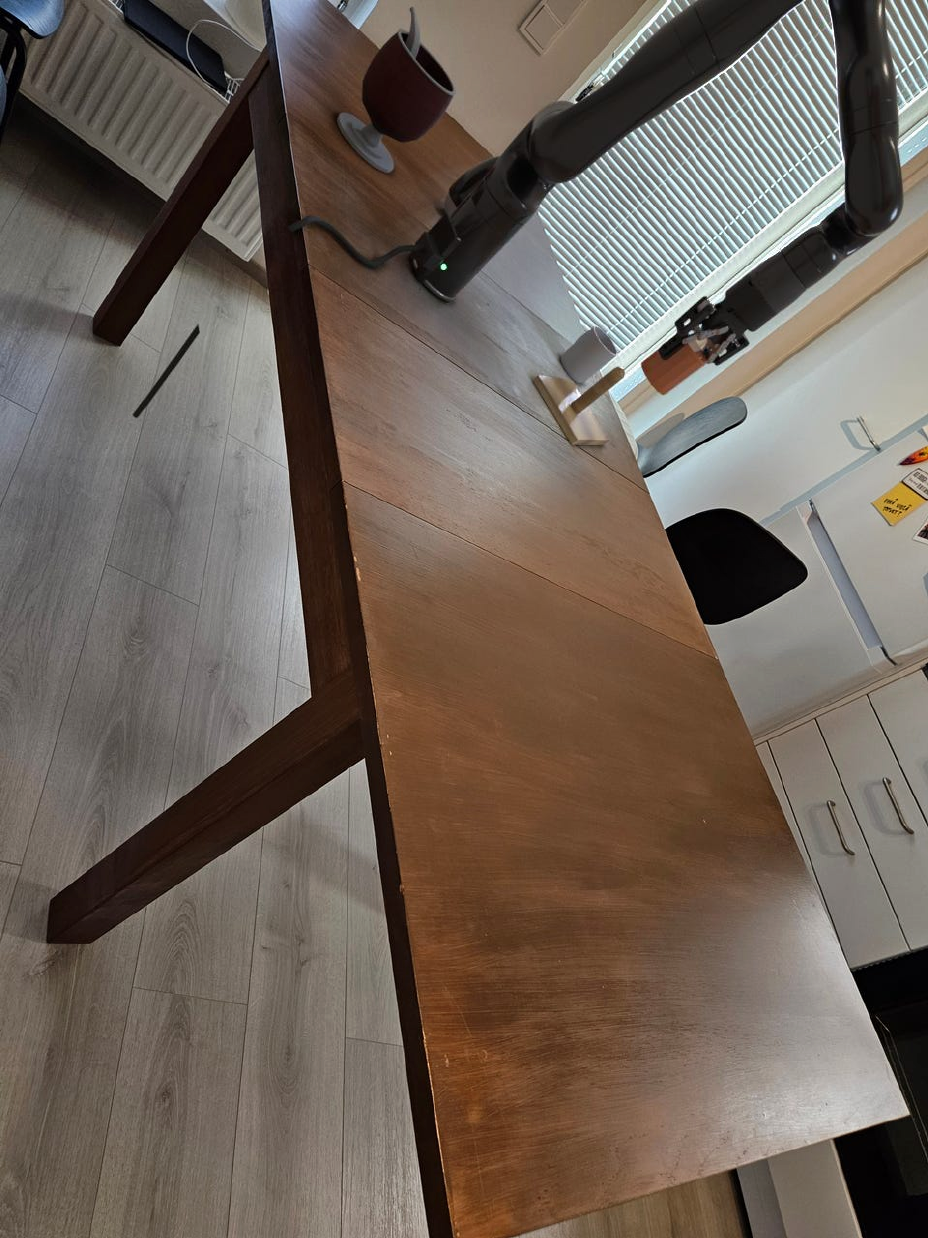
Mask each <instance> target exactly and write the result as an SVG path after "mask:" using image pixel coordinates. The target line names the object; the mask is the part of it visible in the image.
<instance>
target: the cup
mask: <svg viewBox="0 0 928 1238" xmlns="http://www.w3.org/2000/svg"><path fill="white" fill-rule="evenodd" d="M617 356H618V350H617V347H616V345H615V343H614V342H613V340H612V339H611V337H610V336H609V335H608V334H607V333H606V332H605V330H603V328H601V327H600V326H598V325H594V326H592V327H591V328H590V329H589V330H586V331H585V332H583V333H582V334H581V335H580V336H579V337H578V338H577V339H576V340H575V342H574V343H573V344H572V345H570V346H569V348H567V349H566V350H564V352H563V353H562V354H561V356H560V363H561V365H562V367H563V369H564V370H565V372H566V373H567V375H568V376H569V377H570V378H571V380H572V381H575V382H576V383H578V384H584V383H585V382H587V381H588V380H589V379H590V378H592V377H593V376H594V375H595V374H596V373H597V372H599V371H600V370H601V369H602V368H604V366H606V365H607V364H608V363H609V362H611V361H612V360H613V359H614V358H615V357H617Z"/></svg>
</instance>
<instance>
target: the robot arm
mask: <svg viewBox="0 0 928 1238" xmlns="http://www.w3.org/2000/svg"><path fill="white" fill-rule="evenodd" d="M805 1H806V0H695V1H694V2H692V4H690V5H688V6H687V7H685V8H684V9H683V10H682V11H680V12H679V13H677V14H676V15H675V16H673V17H671V19H670V20H668V21H667V22H665V23H664V24H663V25H662V26H661V27H659V28H658V29H657V30H656V31H654V33H653V34H652V35H651V36H649V37H648V39H647V40H646V41H644V43H643V44H642V45H641V46H640V47H639V48H638V49H637V50H636V52H634V53H633V54H632V56H630V58H629V59H628V60H627V61H626V62H625V64H623V66H622V67H621V68H620V69H619V70H618V71H617V72H616V73H615V74H614V75H613V76H611V78H610V79H609V80H607V81H606V82H605V83H603V85H601V86H599V88H597V89H596V90H595V91H593V92H591V93H590V94H588V95H586V96H585V97H583V98H582V99H581V100H578V102H576V103H574V102H572V101H568V100H556V101H553V102H550V103H548V104H547V105H544V106H543V107H542V108H541V109H539V111H538V112H537V113H536V114H535V115H534V116H533V117H532V118H531V119H530V120H529V121H528V123H526V125H525V126H524V127H523V128H522V129H521V131H520V132H519V133H518V134H517V135H516V136H515V138H513V140H512V141H511V142H510V144H509V145H508V146H507V147H506V148H505V149H504V150H503V152H502V153H501V154H500V155H499V156H500V157H499V159H498V160H497V162H496V163H495V165H494V166H493V168H492V169H491V170H490V172H489V173H488V174H487V175H486V176H485V177H484V179H483V180H482V181H481V182H480V183H479V184H478V185H477V186H476V187H475V189H474V190H473V191H472V192H471V193H470V194H469V195H468V196H467V197H466V199H465V200H464V201H463V202H462V203H461V204H460V205H459V206H458V207H457V209H456V210H455V211H454V212H453V213H452V214H450V213H449V212H446V213H445V212H444V214H443V215H442V216H441V217H440V218H439V219H438V220H437V222H436V223H435V224H434V225H433V226H432V227H431V228H430V229H429V231H428V232H427V231H424V232H423V233H422V234H421V235H420V236H419V238H418V239H417V240H416V241H415V242H414V244H405V245H399V246H397V247H395V248H393V249H391V250H390V251H388V252H387V253H385V254H383V255H381V256H379V257H378V258H376V259H375V260H371V259H369V258H367V257H365V256H364V255H363V254H361V253H360V252H359V251H358V250H357V249H356V248H355V247H354V246H353V245H352V244H351V243H350V242H349V240H347V238H346V237H345V236H344V235H343V234H342V233H341V232H340V231H339V230H338V229H337V228H336V227H335V226H333V224H331V223H329V222H328V221H326V220H325V219H322V218H320V217H319V216H316V215H307V216H305V217H303V218H300V219H299V220H297V221H295V222H293V223H291V224H289V225H287V229H288V231H290V232H292V233H293V232H296V231H298V230H299V229H301V228H303V227H305V226H308V225H309V224H312V223H313V224H315V225H317V226H319V227H321V228H323V229H324V230H326V231H327V232H329V233H330V234H331V235H333V236H334V238H335V239H336V240H338V242H339V243H340V244H341V245H342V246H343V247H344V248H345V250H346V251H348V253H349V254H351V255H352V257H354V259H356V260H357V261H359V262H360V263H361V264H363V265H364V266H367V267H368V268H372V269H377V268H378V267H380V266H381V265H382V264H383V263H386V262H387V261H389V260H390V259H392V258H394V257H396V255H399V254H402V253H406V252H409V253H408V257H409V259H410V262H411V265H412V268H413V271H414V274H415V277H416V279H417V281H419V282H420V283H422V284H423V285H424V286H425V287H426V288H427V289H428V290H429V291H430V292H431V293H432V294H433V295H434V296H436V297H437V298H439V299H441V300H442V301H445V302H448V303H449V302H450V303H451V302H452V301H454V300H455V298H456V297H457V295H458V294H459V293H460V292H461V291H462V290H463V289H464V288H465V287H466V286H467V285H468V284H469V283H470V282H471V281H472V280H473V279H474V278H475V277H476V276H477V275H478V274H479V273H480V272H481V271H482V270H483V269H484V267H485V266H486V265H488V263H490V261H492V259H493V258H495V256H496V255H497V254H498V253H499V252H500V251H501V250H502V249H503V248H504V247H505V246H506V245H507V244H508V243H509V242H510V241H511V239H513V238H514V237H515V235H517V234H518V232H520V230H521V229H523V228H524V226H525V225H526V224H528V222H529V221H530V220H531V219H532V218H533V217H534V216H535V215H536V213H537V212H538V210H539V208H540V206H541V205H542V203H543V202H544V200H545V199H546V197H547V196H548V194H550V192H552V190H553V189H554V188H555V187H556V186H557V185H559V184H560V185H561V184H565V183H568V182H571V181H573V180H575V179H576V178H578V177H579V176H581V175H582V174H583V173H585V172H586V171H587V170H588V169H589V168H591V166H593V165H594V164H595V163H596V162H597V161H599V159H601V158H602V157H603V156H604V155H605V154H607V153H608V152H609V151H610V150H611V149H612V148H614V147H615V146H616V145H617V144H619V143H620V142H621V141H623V139H625V138H626V137H627V136H629V135H630V134H631V133H633V132H634V131H636V130H638V129H639V128H641V127H642V126H644V125H646V124H647V123H648V122H650V121H652V120H654V119H655V118H657V117H658V116H660V115H662V114H663V113H665V112H666V111H668V110H670V109H671V108H673V107H674V106H675V105H677V104H678V103H680V102H682V101H683V100H685V99H686V98H687V97H689V96H691V95H692V94H694V93H695V92H697V91H699V90H700V89H702V88H703V87H704V86H706V85H707V84H708V83H710V82H712V81H713V80H715V79H716V78H718V77H719V76H720V75H721V74H723V73H725V72H727V70H728V69H730V68H731V67H733V66H734V65H735V64H736V63H737V62H738V61H740V60H741V59H742V58H743V57H744V56H745V55H746V54H747V53H748V52H750V51H751V50H752V49H753V48H754V47H755V46H756V44H758V43H759V42H760V41H761V40H762V39H763V38H764V37H765V36H767V34H768V33H770V31H771V30H772V29H773V28H774V27H775V26H776V25H777V24H778V23H779V22H780V21H781V20H782V19H783V18H784V17H785V16H787V15H788V14H789V13H790V12H791V11H792V10H794V9H795V8H796V7H797V6H799V5H800V4H802V3H803V2H805ZM826 1H827V6H828V9H829V15H830V20H831V28H832V34H833V42H834V52H835V53H834V54H835V72H836V73H835V74H836V75H835V76H836V99H837V101H836V102H837V118H838V119H837V120H838V131H839V132H838V133H839V141H840V142H839V144H840V152H841V157H842V161H843V177H844V178H843V182H844V185H843V186H844V189H843V190H844V201H842V202H841V203H840V204H839V205H838V206H837V207H835V208H834V209H833V210H832V211H831V212H829V213H828V214H827V215H826V216H825V217H823V219H822V218H821V220H820V221H819V222H817V223H815V224H813V225H811V226H809V227H808V228H806V229H805V230H803V231H802V232H800V233H799V234H798V235H797V236H795V237H793V239H792V240H790V241H789V242H787V244H785V245H784V246H783V247H782V248H780V249H779V250H778V251H776V252H775V253H773V254H772V255H770V256H769V257H767V258H765V259H764V260H763V261H761V262H760V263H759V264H757V265H756V266H755V267H754V268H752V269H751V270H750V271H749V272H747V273H746V274H745V275H744V276H742V277H741V278H740V279H738V280H737V281H736V282H735V283H734V284H732V285H731V286H729V288H727V289H726V290H725V292H724V298H723V299H722V300H721V301H719V302H717V303H713V302H711V300H710V299H709V297H708V296H707V295H704V296H702V297H700V299H699V300H697V301H696V302H695V303H694V304H693V305H691V306H690V308H689V309H687V310H686V311H685V312H684V313H683V314H682V315H681V316H679V317H678V318H677V319H676V320H675V321H674V326H675V329H676V333H675V334H674V335H672V337H669V339H668V340H666V341H665V342H664V343H663V344H661V346H660V347H658V349H659V350H658V349H657V350H658V352H659V354H660V356H661V358H662V359H664V360H667V359H669V358H670V357H671V356H672V355H674V354H675V353H676V352H678V351H679V350H680V349H681V348H683V347H684V344H687V343H689V342H692V341H694V340H695V341H701V342H702V341H704V340H706V342H705V345H703V347H702V348H701V349H702V351H703V353H704V355H705V357H706V359H707V363H706V364H705V365H711V364H714V365H715V367H718V366H720V365H721V364H723V363H725V362H726V361H728V360H729V359H731V358H732V357H733V356H735V355H737V354H739V353H740V352H741V351H743V350H744V349H745V348H747V347H748V346H749V345H750V340H749V339H748V337H747V335H746V333H745V332H746V331H749V332H752V333H753V332H757V331H758V330H759V329H761V328H762V327H763V326H765V324H767V323H768V322H769V321H771V320H772V319H773V318H775V317H776V316H778V314H780V313H781V312H783V311H784V310H785V309H787V308H788V307H789V306H791V305H792V304H793V303H795V302H796V301H797V300H798V299H799V298H800V297H801V296H802V295H803V294H804V293H805V292H807V291H808V290H809V289H811V288H812V287H814V286H815V285H816V284H817V283H818V282H820V281H821V280H822V279H824V278H825V277H827V276H828V275H829V274H831V272H833V271H834V270H836V268H837V267H838V266H839V265H840V264H841V263H842V262H844V260H846V259H847V258H849V257H851V256H852V255H853V254H855V253H856V252H858V251H860V250H861V249H862V248H863V247H865V246H867V245H868V244H869V243H872V241H874V240H875V239H877V238H878V237H879V236H881V235H883V234H884V233H885V232H886V231H887V230H889V229H891V227H892V226H894V224H895V223H896V222H897V221H898V220H899V218H900V216H901V214H902V212H903V209H904V205H905V204H904V203H905V196H904V194H905V193H904V183H903V173H902V166H901V158H900V151H899V141H900V140H899V139H900V123H899V122H900V118H899V101H898V86H897V77H896V71H895V66H894V60H893V54H892V51H891V45H890V39H889V34H888V27H887V25H888V24H887V17H886V15H887V14H886V13H887V11H886V0H826ZM687 321H689V322H688V323H687V324H685V323H686V322H687ZM691 331H693V332H692V333H690V332H691ZM200 333H201V330H200V324H199V323H197V325H196V326H195V327H194V329H193V330H192V331H191V332H190V334H189V335H188V337H187V338H186V340H184V342H183V344H182V346H180V348H179V350H178V351H177V352H176V354H175V355H174V357H173V358H172V359H171V361H170V363H169V364H168V365H167V367H165V369H164V371H163V372H162V374H161V375H160V377H159V378H158V379H157V381H156V382H155V384H154V385H153V386H152V388H151V389H150V390H149V392H148V393H147V395H146V396H145V397H144V398H143V400H142V401H141V403H140V404H139V405H138V407H137V408H136V409H135V411H133V413H132V416H133V418H135V419H138V418H139V417H140V416H141V414H142V413H143V412H144V411H145V409H146V408H147V406H149V404H150V403H151V401H152V400H153V399H154V398H155V396H156V395H157V393H158V392H159V391H160V390H161V388H162V387H163V385H164V383H165V382H166V381H167V379H168V378H169V377H170V375H171V374H172V372H173V371H174V370H175V368H176V367H177V365H179V363H180V361H181V360H182V358H183V357H184V356H185V354H186V353H187V351H188V350H189V349H190V348H191V346H192V345H193V344H194V341H195V340H196V339H197V338H198V336H199V335H200ZM688 333H689V334H690V335H688Z"/></svg>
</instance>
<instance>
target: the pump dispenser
mask: <svg viewBox="0 0 928 1238" xmlns="http://www.w3.org/2000/svg"><path fill="white" fill-rule="evenodd" d="M500 156H501V155H497V156H492V157H490V158H488V159H486V160H483V161H481V162H479V163H478V164H476V165H474V166H473V167H471V168H470V169H468V170H467V171H465V172H464V173H463V174H462V175H461V176H460V177H458V178H457V179H456V180H455V181H453V182H452V184H451V185H450V186H449V188H448V192H447V194H446V196H445V199H444V205H443V207H444V214H445V213H446V212H449V213H450V214H452V213H453V212H454V211H455V210H456V209H457V207H458V206H459V205H460V204H461V203H462V202H463V201H464V200H465V199H466V197H467V196H468V195H469V194H470V193H471V192H472V191H473V190H474V189H475V187H476V186H477V185H478V184H479V183H480V182H481V181H482V180H483V179H484V177H485V176H486V175H487V174H488V173H489V172H490V170H491V169H492V168H493V166H494V165H495V163H496V162H497V160H498V159H499V157H500Z"/></svg>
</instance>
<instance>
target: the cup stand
mask: <svg viewBox="0 0 928 1238" xmlns="http://www.w3.org/2000/svg"><path fill="white" fill-rule="evenodd" d="M625 375H626V372H625V369H624V367H622V366H620V365H619V366H615V367H613V368H612V369H611V370H610V371H609V372H607V373H606V374H605V375H604V376H603V377H601V378H600V379H599V380H597V381H596V382H595V383H594V384H593V385H592V386H590V387H589V388H588V389H587V390H585V391H584V392H583V393H582V394H581V392H580V391H579V389H578V387H577V386H576V385H575V382H574V380H573V379H565V378H561V377H554V376H547V375H541V374H538V375H537V376H536V377H534V378H533V379H532V382H533V383H534V385H535V387H536V388H537V390H538V392H539V393H540V396H541V397H542V398H543V400H544V402H545V403H546V405H547V407H548V409H549V410H550V412H551V413H552V415H553V417H554V418H555V420H556V421H557V423H558V425H559V426H560V428H561V430H562V431H563V433H564V435H565V436H566V438H567V440H568V441H569V443H570V445H571V446H573V445H575V446H578V445H579V446H604V445H605V444H606V443H608V442H610V439H609V438H608V436H607V435H606V433H605V432H604V430H603V428H602V427H601V425H600V423H599V422H598V420H597V419H596V417H595V415H594V413H593V412H592V410H591V409H590V407H589V406H591V405H593V403H594V402H596V401H597V400H598V399H599V398H601V397H602V396H603V395H604V394H605V393H607V392H608V391H609V390H611V389H612V388H613V387H614V386H615V385H616V384H619V383H620V381H622V380H623V379H624V378H625Z"/></svg>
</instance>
